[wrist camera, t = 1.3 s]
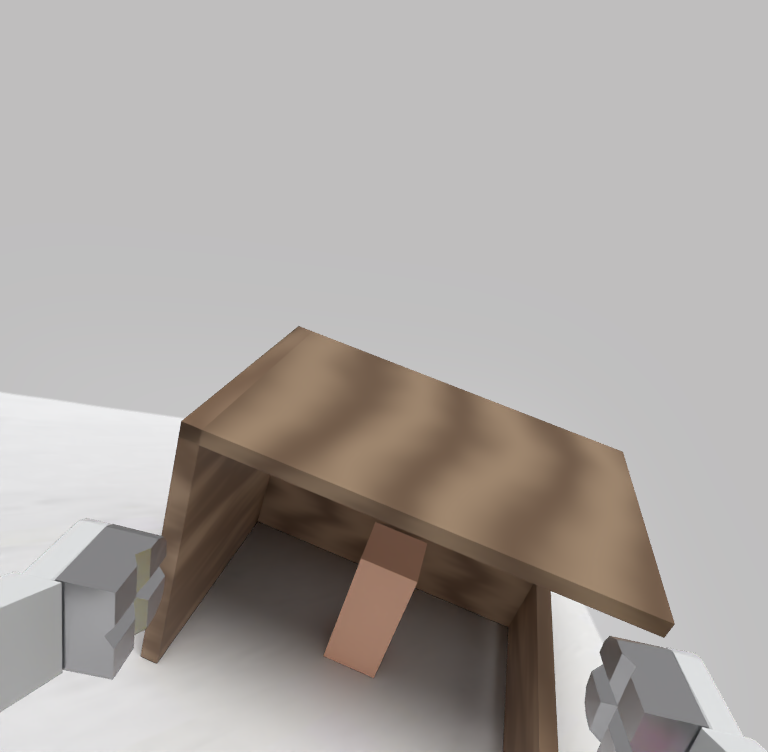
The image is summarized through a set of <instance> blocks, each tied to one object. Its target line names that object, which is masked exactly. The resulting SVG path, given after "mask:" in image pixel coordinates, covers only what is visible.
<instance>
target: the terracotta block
mask: <svg viewBox="0 0 768 752" xmlns="http://www.w3.org/2000/svg"><path fill="white" fill-rule="evenodd" d="M426 547H427V543H425V542H423V541H420V540H418V539H416V538H413V537H411V536H408V535H406V534H404V533H401V532H399V531H396V530H394V529H391V528H389V527H387V526H384V525H382V524H379V523H377V522H375V525H374V527H373V530H372V532H371V535H370V537H369V540H368V542H367V545H366V547H365V550H364V552H363V555H362V557H361V560H360V562H359V565H358V567H357V570H356V573H355V575H354V578H353V580H352V583H351V586H350V588H349V591H348V593H347V596H346V598H345V601H344V604H343V606H342V609H341V611H340V614H339V617H338V619H337V622H336V624H335V627H334V630H333V632H332V635H331V637H330V640H329V643H328V645H327V648H326V650H325V653H324V655H323V656H324V657H327V658H329V659H331V660H333V661H336V662H338V663H340V664H342V665H345V666H347V667H349V668H352V669H354V670H356V671H358V672H361V673H363V674H365V675H367V676H370V677H372V678H374V677H375V674H376V672H377V670H378V668H379V666H380V663H381V661H382V659H383V657H384V655H385V652H386V650H387V648H388V646H389V644H390V642H391V639H392V637H393V635H394V633H395V631H396V628H397V626H398V624H399V622H400V620H401V617H402V615H403V613H404V611H405V609H406V606H407V604H408V602H409V600H410V598H411V596H412V593H413V591H414V589H415V587H416V585H417V582H418V578H419V574H420V570H421V566H422V563H423V559H424V555H425V551H426Z"/></svg>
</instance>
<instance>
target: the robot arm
mask: <svg viewBox="0 0 768 752" xmlns="http://www.w3.org/2000/svg"><path fill="white" fill-rule="evenodd" d="M166 554H167V540H166V539H165V538H164V537H163V536H159V535H155V534H151V533H147V532H143V531H139V530H135V529H131V528H127V527H123V526H119V525H115V524H109V523H105V522H101V521H97V520H93V519H89V518H85V519H82V520H79V521H78V522H76V523H75V524H74V525H73V526H72V527H71V528H70V529H69V530H68V531H67V532H66V533H65V534H64V535H63V536H62V537H60V538H59V539H58V540H57V541H56V542H55V543H54V544H53V545H52V546H51V547H50V548H49V549H48V550H47V551H45V552H44V553H43V554H42V555H41V556H40V557H39V558H38V559H37V560H36V561H35V562H34V563H33V564H32V565H31V566H29V567H28V568H27V569H26V570H25V571H24V572H23V573H17V572H11V573H9V574H6V575H3V576H0V712H1V711H3V710H4V709H6V708H8V707H9V706H11V705H12V704H14V703H16V702H17V701H19V700H20V699H22V698H23V697H25V696H27V695H28V694H30V693H31V692H33V691H34V690H36V689H38V688H39V687H41V686H42V685H44V684H46V683H47V682H49V681H50V680H52V679H53V678H55V677H57V676H58V675H60V674H61V673H62V670H66V671H71V672H76V673H81V674H86V675H91V676H97V677H102V678H107V679H112V680H113V679H114V677H115V676H116V674H117V673H118V671H119V670H120V668H121V667H122V665H123V663H124V662H125V660H126V659H127V657H128V656H129V654H130V653H131V651H132V650H133V648H134V635H135V634H137V633H139V632H141V631H143V630H145V629H147V627H148V625H149V624H150V622H151V621H152V619H153V617H154V616H155V614H156V611H157V609H158V606H159V604H160V601H161V599H162V594H163V590H164V583H165V575H164V573H163V571H162V570H161V568H160V567H159V565H160V564H161V563H162V561H163V560H164V558H165V557H166ZM600 655H601V658H602V662H603V665H601V666H600V667H598V668H596V669H595V670H593V671H592V672H591V675H590V677H589V680H588V683H587V686H586V694H585V711H586V718H587V722H588V726H589V730H590V731H591V732H592V733H593V734H594V735H595V737H596V738H597V739H598V740H599V741H600V742H601V743H600V746H599V748H598V750H597V752H767V751H766V750H765V749H764V748H763V747H761V745H759V744H758V743H757V742H756V741H755V740H754V739H751V738H747V737H744V736H743V734H742V732H741V730H740V729H739V727H738V725H737V723H736V721H735V719H734V717H733V716H732V714H731V712H730V710H729V708H728V706H727V705H726V703H725V701H724V699H723V697H722V695H721V694H720V692H719V690H718V688H717V686H716V684H715V683H714V681H713V679H712V677H711V675H710V673H709V672H708V670H707V668H706V666H705V664H704V662H703V660H702V659H701V658H700V657H699V656H698V655H696V654H695V653H692V652H687V651H682V650H676V649H672V648H663V647H659V646H654V645H649V644H645V643H640V642H635V641H631V640H626V639H621V638H617V637H612V636H609V637H608V638H607V639H606V640H605V641H604V643H603V646H602V648H601V650H600Z"/></svg>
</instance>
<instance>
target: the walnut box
mask: <svg viewBox="0 0 768 752" xmlns="http://www.w3.org/2000/svg"><path fill="white" fill-rule="evenodd" d="M257 522H260V523H263V524H265V525H267V526H270V527H272V528H274V529H277V530H279V531H282V532H284V533H286V534H289V535H291V536H293V537H296V538H298V539H301V540H303V541H305V542H308V543H310V544H312V545H315V546H317V547H319V548H322V549H324V550H327V551H329V552H331V553H334V554H336V555H338V556H341V557H343V558H345V559H348V560H350V561H353V562H355V563H357V564H359V562H360V560H361V557H362V555H363V552H364V550H365V547H366V545H367V542H368V540H369V537H370V535H371V532H372V530H373V527H374V525H375V522H377V523H379V524H382V525H384V526H387V527H389V528H391V529H394V530H396V531H399V532H401V533H404V534H406V535H408V536H411V537H413V538H416V539H418V540H420V541H423V542H425V543H427V547H426V551H425V555H424V559H423V563H422V566H421V570H420V574H419V578H418V582H417V585H416V587H415V588H416V589H419V590H421V591H424V592H426V593H428V594H431V595H433V596H435V597H438V598H440V599H442V600H445V601H447V602H450V603H452V604H454V605H457V606H459V607H461V608H464V609H466V610H469V611H471V612H473V613H476V614H478V615H480V616H483V617H485V618H487V619H490V620H492V621H495V622H497V623H499V624H502V625H504V626H506V627H508V644H507V668H506V692H505V716H504V740H503V752H558V735H557V715H556V694H555V673H554V653H553V632H552V611H551V591H552V592H555V593H557V594H560V595H562V596H564V597H567V598H569V599H572V600H574V601H576V602H579V603H581V604H584V605H586V606H589V607H591V608H593V609H596V610H599V611H601V612H603V613H605V614H608V615H610V616H613V617H615V618H618V619H620V620H622V621H625V622H627V623H630V624H632V625H635V626H637V627H639V628H642V629H644V630H646V631H649V632H651V633H654V634H656V635H659V636H661V637H663V638H664V637H665V636H666V634H667V633H668V632H669V631H670V630H671V628H672V627H673V626H674V620H673V617H672V614H671V610H670V607H669V604H668V601H667V597H666V594H665V590H664V587H663V584H662V581H661V577H660V574H659V570H658V567H657V564H656V561H655V557H654V554H653V551H652V547H651V544H650V541H649V537H648V534H647V531H646V527H645V524H644V521H643V517H642V514H641V511H640V508H639V504H638V501H637V497H636V494H635V491H634V487H633V484H632V481H631V478H630V475H629V471H628V468H627V464H626V461H625V458H624V454H623V452H622V451H619V450H617V449H614V448H611V447H609V446H606V445H604V444H601V443H599V442H596V441H593V440H591V439H588V438H586V437H583V436H580V435H578V434H575V433H572V432H570V431H568V430H565V429H562V428H560V427H557V426H555V425H552V424H550V423H547V422H545V421H542V420H539V419H537V418H534V417H532V416H529V415H526V414H524V413H521V412H519V411H516V410H514V409H511V408H508V407H505V406H503V405H501V404H498V403H495V402H493V401H490V400H488V399H485V398H482V397H480V396H478V395H475V394H472V393H470V392H467V391H465V390H462V389H459V388H457V387H454V386H452V385H449V384H446V383H444V382H441V381H439V380H436V379H434V378H431V377H428V376H426V375H423V374H421V373H418V372H415V371H413V370H410V369H408V368H405V367H403V366H400V365H397V364H395V363H392V362H390V361H387V360H384V359H382V358H380V357H377V356H374V355H372V354H369V353H367V352H364V351H361V350H359V349H356V348H354V347H351V346H349V345H346V344H343V343H341V342H338V341H336V340H333V339H330V338H328V337H325V336H323V335H320V334H317V333H315V332H312V331H310V330H307V329H305V328H302V327H300V326H298V327H297V328H296V329H294V330H293V331H292V332H291V333H290V334H288V335H287V336H286V337H285V338H284V339H282V340H281V341H280V342H278V343H277V344H276V345H275V346H274V347H272V348H271V349H270V350H269V351H267V352H266V353H265V354H264V355H262V356H261V357H260V358H259V359H257V360H256V361H255V362H254V363H253V364H251V365H250V366H249V367H248V368H246V369H245V370H244V371H243V372H241V373H240V374H239V375H238V376H237V377H235V378H234V379H233V380H232V381H231V382H229V383H228V384H227V385H225V386H224V387H223V388H222V389H221V390H219V391H218V392H217V393H216V394H214V395H213V396H212V397H211V398H209V399H208V400H207V401H206V402H204V403H203V404H202V405H201V406H200V407H198V408H197V409H196V410H195V411H193V412H192V413H191V414H190V415H188V416H187V417H186V418H185V419H184V420H182V421H181V426H180V432H179V438H178V444H177V449H176V455H175V461H174V467H173V472H172V478H171V484H170V490H169V496H168V501H167V507H166V513H165V519H164V525H163V530H162V536H163V537H164V538H165V539H166V540H167V554H166V557H165V558H164V560H163V561H162V563H161V564H160V565H159V567H160V568H161V570H162V571H163V573H164V575H165V583H164V590H163V594H162V599H161V601H160V604H159V606H158V609H157V611H156V614H155V616H154V617H153V619H152V621H151V622H150V624H149V625H148V627H147V629H145V635H144V640H143V646H142V652H141V657H143V658H146V659H148V660H150V661H152V662H154V663H158V661H159V660H160V659H161V657H162V656H163V654H164V653H165V652H166V650H167V649H168V647H169V646H170V644H171V643H172V642H173V640H174V639H175V637H176V636H177V635H178V633H179V632H180V630H181V629H182V628H183V626H184V625H185V623H186V622H187V621H188V619H189V618H190V616H191V615H192V613H193V612H194V611H195V609H196V608H197V606H198V605H199V604H200V602H201V601H202V599H203V598H204V597H205V595H206V594H207V592H208V591H209V590H210V588H211V587H212V585H213V584H214V582H215V581H216V580H217V578H218V577H219V575H220V574H221V573H222V571H223V570H224V568H225V567H226V566H227V564H228V563H229V561H230V560H231V558H232V557H233V556H234V554H235V553H236V551H237V550H238V549H239V547H240V546H241V544H242V543H243V542H244V540H245V539H246V537H247V536H248V535H249V533H250V532H251V530H252V529H253V527H254V526H255V525H256V523H257Z"/></svg>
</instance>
